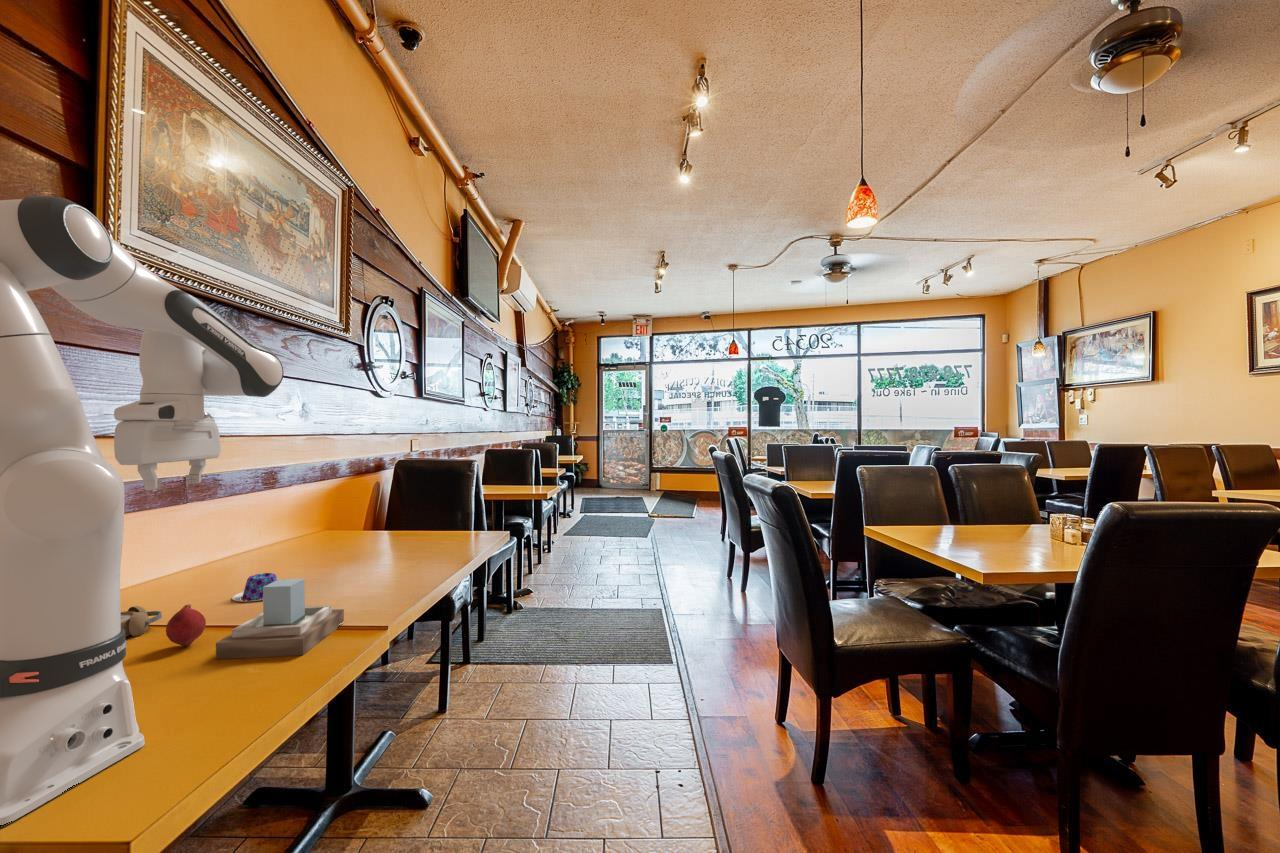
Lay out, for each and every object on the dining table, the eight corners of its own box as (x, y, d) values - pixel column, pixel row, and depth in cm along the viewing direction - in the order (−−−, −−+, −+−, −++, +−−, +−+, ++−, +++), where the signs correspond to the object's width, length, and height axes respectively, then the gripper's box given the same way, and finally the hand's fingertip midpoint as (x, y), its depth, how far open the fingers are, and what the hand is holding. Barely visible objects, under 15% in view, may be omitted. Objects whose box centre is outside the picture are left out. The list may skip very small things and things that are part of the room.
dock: (303, 655, 98) (302, 630, 98) (216, 659, 97) (215, 634, 97) (343, 623, 114) (343, 602, 114) (269, 626, 113) (269, 604, 113)
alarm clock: (57, 626, 108) (156, 595, 118) (64, 648, 108) (162, 616, 119) (54, 641, 100) (160, 606, 110) (61, 666, 100) (166, 629, 111)
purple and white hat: (287, 599, 132) (286, 578, 132) (226, 607, 127) (226, 585, 127) (293, 586, 143) (293, 566, 143) (237, 593, 138) (237, 573, 138)
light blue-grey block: (290, 627, 103) (290, 586, 103) (263, 628, 103) (262, 587, 103) (304, 618, 108) (304, 578, 108) (278, 619, 108) (278, 579, 108)
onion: (182, 653, 100) (182, 610, 100) (158, 651, 101) (157, 608, 101) (213, 641, 106) (212, 600, 106) (189, 639, 107) (189, 598, 107)
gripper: (196, 412, 109) (197, 481, 109) (104, 409, 88) (105, 494, 88) (229, 412, 109) (230, 480, 109) (145, 409, 89) (147, 493, 89)
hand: (174, 486), depth 99 cm, fingers open, 8 cm apart
